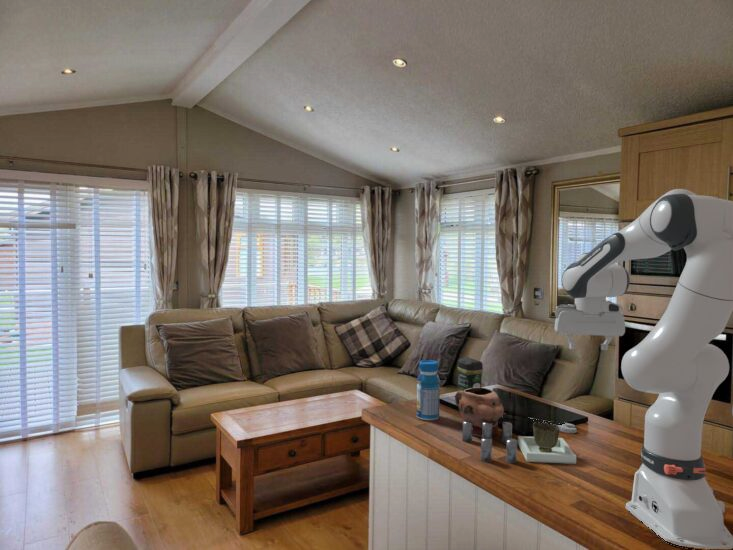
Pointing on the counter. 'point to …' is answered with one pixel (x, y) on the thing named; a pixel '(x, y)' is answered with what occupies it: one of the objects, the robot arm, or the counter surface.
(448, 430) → the counter surface
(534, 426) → the cup
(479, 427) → the decorative planter
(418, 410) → the beverage bottle
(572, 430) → the adjustable wrench
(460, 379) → the coffee jar
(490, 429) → the spacer field
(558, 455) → the tray
